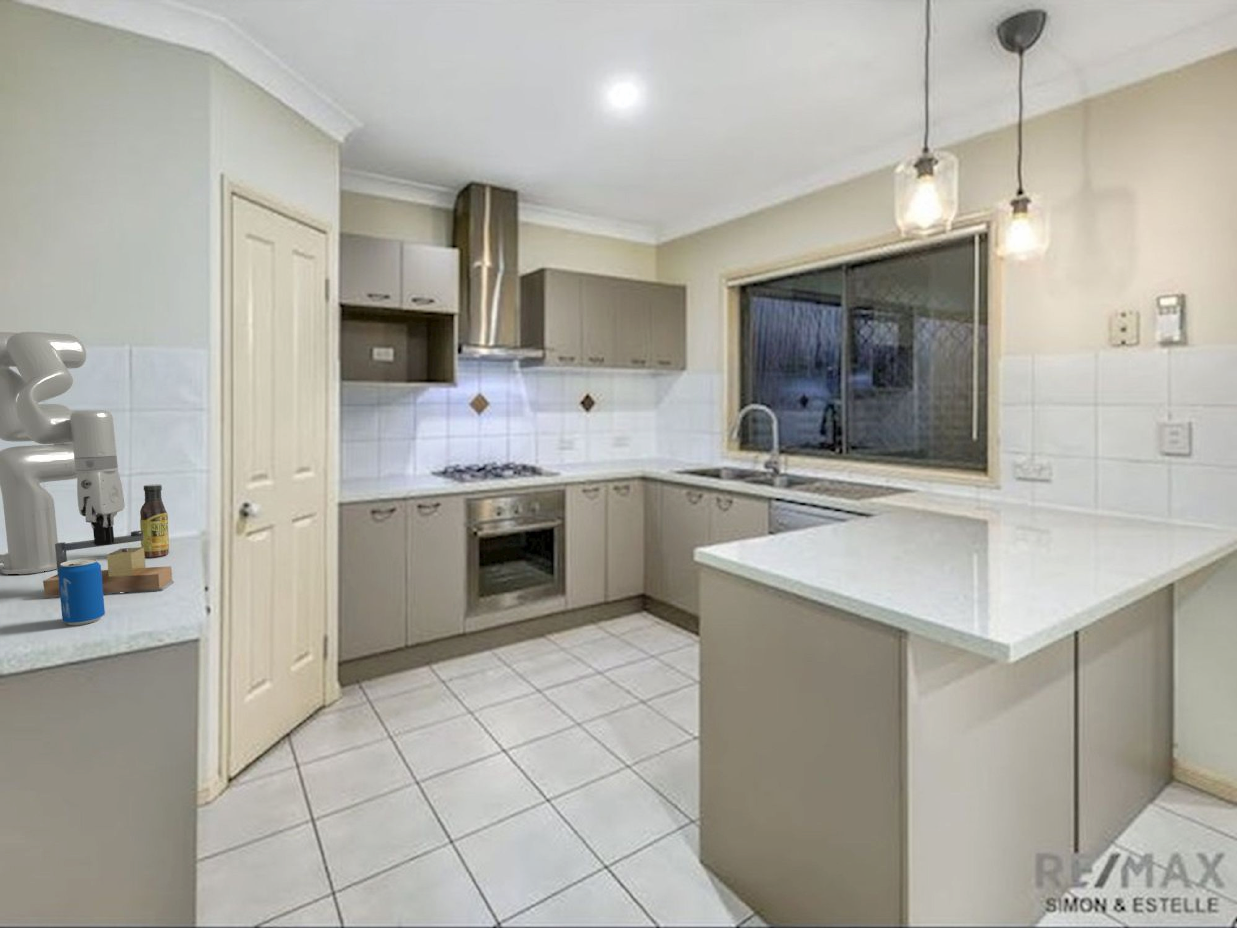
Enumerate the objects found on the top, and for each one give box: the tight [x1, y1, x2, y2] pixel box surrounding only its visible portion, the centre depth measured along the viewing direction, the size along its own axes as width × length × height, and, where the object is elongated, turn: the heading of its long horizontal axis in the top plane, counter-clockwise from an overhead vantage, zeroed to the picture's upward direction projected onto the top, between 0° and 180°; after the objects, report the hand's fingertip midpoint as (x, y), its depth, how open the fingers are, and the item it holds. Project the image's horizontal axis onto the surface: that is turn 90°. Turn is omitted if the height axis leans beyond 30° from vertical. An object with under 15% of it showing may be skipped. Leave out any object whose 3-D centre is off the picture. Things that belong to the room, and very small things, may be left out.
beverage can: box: [57, 557, 106, 626], centre depth 126 cm, size 6×6×12 cm
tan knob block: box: [106, 546, 146, 577], centre depth 147 cm, size 5×6×5 cm
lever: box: [55, 530, 143, 574], centre depth 149 cm, size 16×2×8 cm, turn 136°
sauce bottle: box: [139, 483, 170, 559], centre depth 177 cm, size 7×6×20 cm
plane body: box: [42, 565, 175, 599], centre depth 147 cm, size 23×7×4 cm, turn 105°
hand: (104, 544), depth 147 cm, fingers closed
